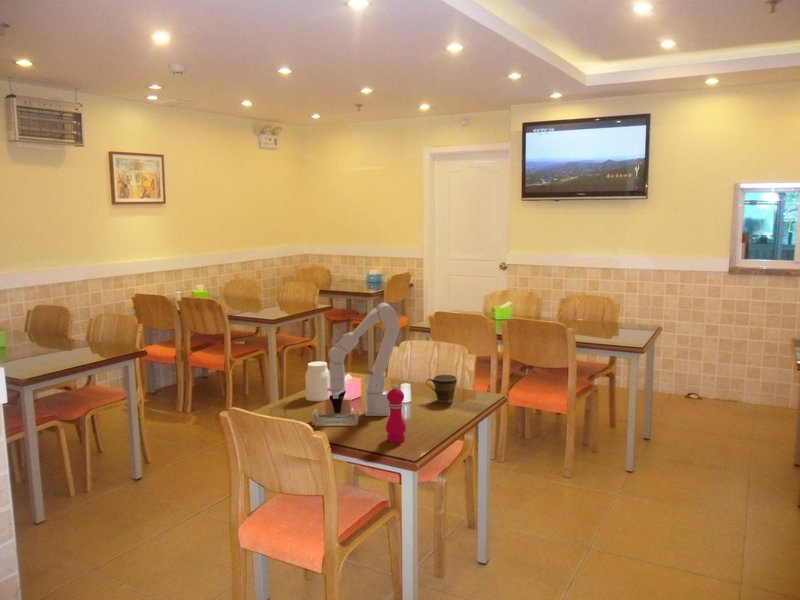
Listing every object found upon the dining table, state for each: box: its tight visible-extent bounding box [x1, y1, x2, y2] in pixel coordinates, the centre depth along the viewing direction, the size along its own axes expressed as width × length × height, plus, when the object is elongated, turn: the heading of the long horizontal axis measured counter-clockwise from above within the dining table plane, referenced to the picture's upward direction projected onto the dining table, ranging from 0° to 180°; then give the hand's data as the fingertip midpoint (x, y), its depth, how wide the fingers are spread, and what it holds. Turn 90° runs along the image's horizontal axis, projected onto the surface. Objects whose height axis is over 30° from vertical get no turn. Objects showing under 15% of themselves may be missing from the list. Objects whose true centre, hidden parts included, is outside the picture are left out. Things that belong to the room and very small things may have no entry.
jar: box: [304, 360, 330, 402], centre depth 281 cm, size 12×10×15 cm
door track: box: [311, 407, 360, 427], centre depth 248 cm, size 17×8×4 cm, turn 89°
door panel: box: [324, 397, 352, 414], centre depth 256 cm, size 10×2×7 cm, turn 89°
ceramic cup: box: [425, 374, 458, 404], centre depth 274 cm, size 13×10×10 cm
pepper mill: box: [385, 384, 407, 444], centre depth 228 cm, size 7×7×20 cm
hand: (338, 411), depth 256 cm, fingers open, 4 cm apart
